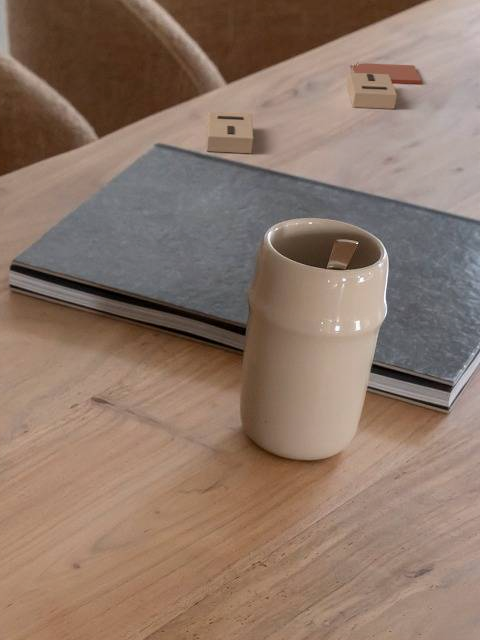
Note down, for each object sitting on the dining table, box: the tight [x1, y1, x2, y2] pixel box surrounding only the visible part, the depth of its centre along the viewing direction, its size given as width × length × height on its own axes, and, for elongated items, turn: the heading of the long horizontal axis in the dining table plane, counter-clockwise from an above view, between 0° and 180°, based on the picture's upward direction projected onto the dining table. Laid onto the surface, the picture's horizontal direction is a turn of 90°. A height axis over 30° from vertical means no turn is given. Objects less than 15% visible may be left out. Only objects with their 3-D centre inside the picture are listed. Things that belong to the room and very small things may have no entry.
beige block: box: [346, 72, 398, 110], centre depth 125 cm, size 3×7×1 cm, turn 169°
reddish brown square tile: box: [352, 62, 422, 85], centre depth 132 cm, size 6×6×1 cm
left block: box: [206, 111, 254, 154], centre depth 115 cm, size 3×7×1 cm, turn 169°
